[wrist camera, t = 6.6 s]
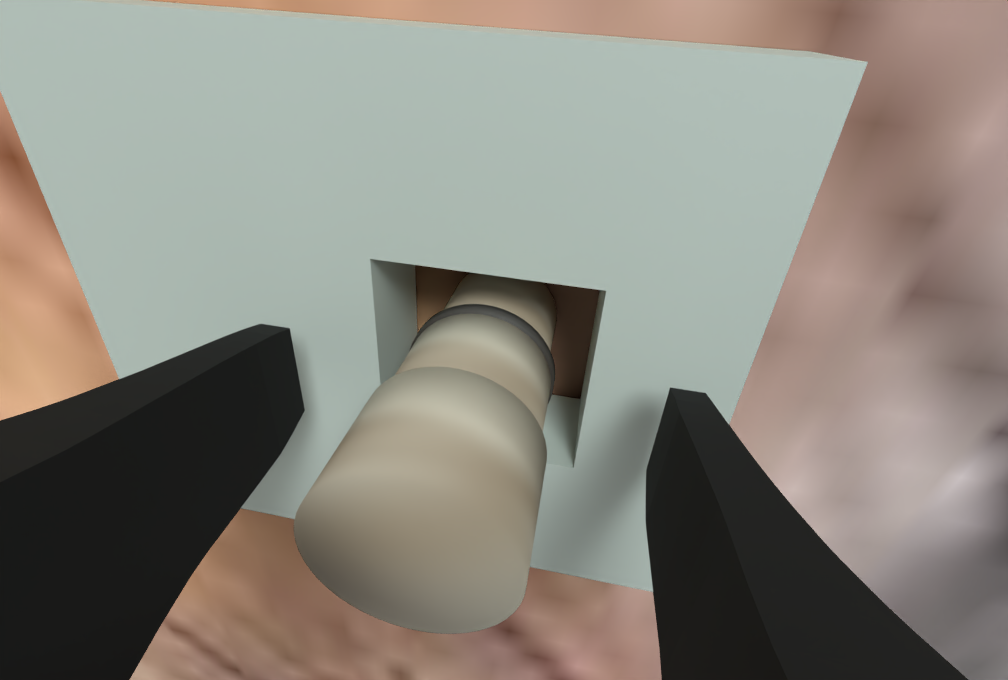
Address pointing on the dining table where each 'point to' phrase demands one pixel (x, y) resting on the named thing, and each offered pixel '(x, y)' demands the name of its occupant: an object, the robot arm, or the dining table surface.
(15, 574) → the robot arm
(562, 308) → the dining table surface
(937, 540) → the dining table surface
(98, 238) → the hole board
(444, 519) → the peg
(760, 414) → the dining table surface
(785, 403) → the dining table surface
